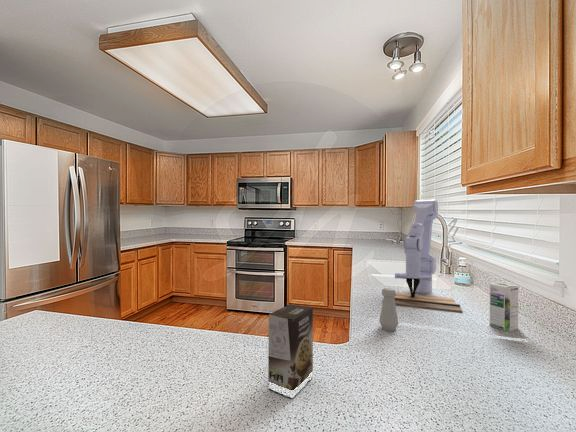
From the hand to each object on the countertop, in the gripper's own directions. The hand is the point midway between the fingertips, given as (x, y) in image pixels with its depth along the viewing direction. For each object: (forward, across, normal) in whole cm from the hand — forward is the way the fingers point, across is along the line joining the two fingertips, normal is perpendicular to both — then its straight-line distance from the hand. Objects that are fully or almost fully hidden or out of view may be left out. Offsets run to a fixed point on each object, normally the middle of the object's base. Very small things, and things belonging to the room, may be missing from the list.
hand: (412, 296), depth 125 cm
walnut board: (+2, +3, -10) cm, 10 cm away
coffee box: (+2, -24, -78) cm, 81 cm away
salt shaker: (+2, -7, -37) cm, 38 cm away
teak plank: (+2, +3, -1) cm, 3 cm away
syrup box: (+2, +27, -23) cm, 35 cm away
